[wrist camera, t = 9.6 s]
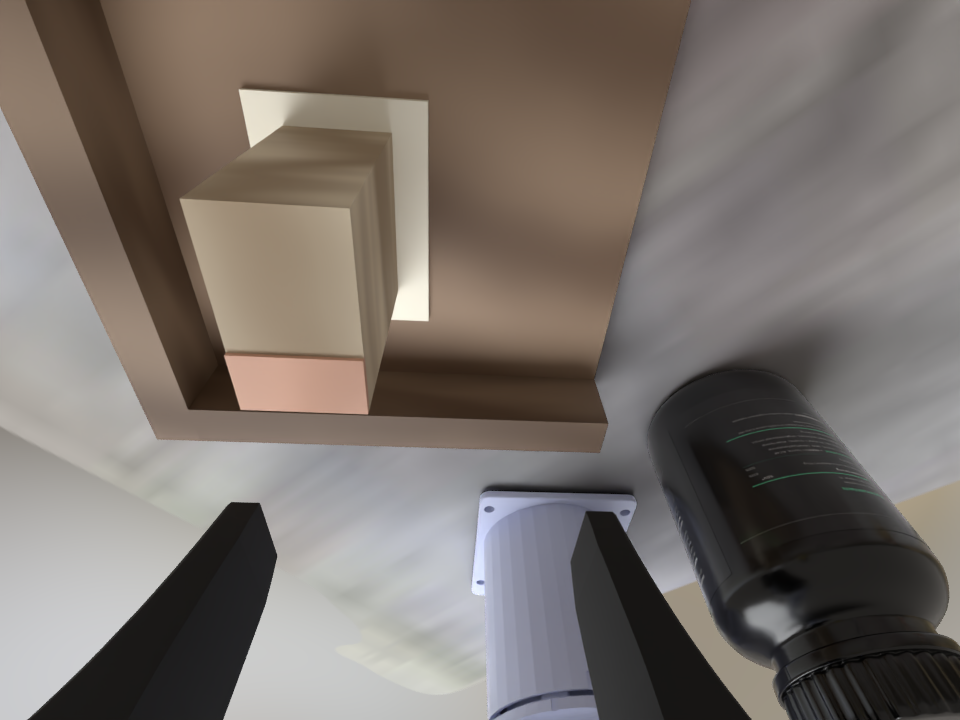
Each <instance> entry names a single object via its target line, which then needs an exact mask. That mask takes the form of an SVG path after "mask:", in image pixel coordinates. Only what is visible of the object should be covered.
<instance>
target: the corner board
mask: <svg viewBox="0 0 960 720" xmlns="http://www.w3.org/2000/svg"><path fill="white" fill-rule="evenodd" d="M690 3H691V0H0V107H1V110H2V112H3V114H4V116H5V118H6V120H7V122H8V124H9V126H10V129H11V131H12V133H13V135H14V137H15V139H16V141H17V143H18V146H19V148H20V150H21V152H22V154H23V156H24V158H25V160H26V162H27V165H28V167H29V169H30V171H31V173H32V175H33V177H34V179H35V182H36V184H37V186H38V188H39V190H40V192H41V194H42V196H43V198H44V201H45V203H46V205H47V207H48V209H49V211H50V213H51V215H52V218H53V220H54V222H55V224H56V226H57V228H58V230H59V232H60V234H61V237H62V239H63V241H64V243H65V245H66V247H67V249H68V251H69V254H70V256H71V258H72V260H73V262H74V264H75V266H76V268H77V270H78V273H79V275H80V277H81V279H82V281H83V283H84V285H85V287H86V290H87V292H88V294H89V296H90V298H91V300H92V302H93V304H94V306H95V309H96V311H97V313H98V315H99V317H100V319H101V321H102V323H103V326H104V328H105V330H106V332H107V334H108V336H109V338H110V340H111V342H112V345H113V347H114V349H115V351H116V353H117V355H118V357H119V359H120V362H121V364H122V366H123V368H124V370H125V372H126V374H127V376H128V378H129V381H130V383H131V385H132V387H133V389H134V391H135V393H136V395H137V398H138V400H139V402H140V404H141V406H142V408H143V410H144V412H145V414H146V417H147V419H148V421H149V423H150V425H151V427H152V429H153V431H154V434H155V436H156V438H157V439H160V440H194V441H227V442H260V443H293V444H326V445H359V446H392V447H425V448H458V449H491V450H524V451H557V452H590V453H600V450H601V447H602V443H603V440H604V437H605V433H606V430H607V427H608V421H607V418H606V415H605V412H604V408H603V405H602V402H601V399H600V396H599V393H598V390H597V387H596V383H595V380H594V378H595V374H596V370H597V366H598V362H599V358H600V354H601V350H602V347H603V343H604V339H605V335H606V331H607V327H608V323H609V319H610V315H611V311H612V307H613V304H614V300H615V296H616V292H617V288H618V284H619V280H620V276H621V272H622V268H623V265H624V261H625V257H626V253H627V249H628V245H629V241H630V237H631V233H632V229H633V225H634V222H635V218H636V214H637V210H638V206H639V202H640V198H641V194H642V190H643V186H644V182H645V179H646V175H647V171H648V167H649V163H650V159H651V155H652V151H653V147H654V143H655V139H656V136H657V132H658V128H659V124H660V120H661V116H662V112H663V108H664V104H665V100H666V96H667V93H668V89H669V85H670V81H671V77H672V73H673V69H674V65H675V61H676V57H677V53H678V50H679V46H680V42H681V38H682V34H683V30H684V26H685V22H686V18H687V14H688V10H689V7H690ZM281 126H298V127H313V128H328V129H343V130H358V131H373V132H388V133H392V146H393V172H394V197H395V223H396V248H397V274H398V294H397V298H396V302H395V306H394V310H393V314H392V318H391V323H390V327H389V331H388V335H387V339H386V343H385V347H384V351H383V356H382V360H381V364H380V368H379V372H378V376H377V380H376V384H375V389H374V393H373V397H372V401H371V405H370V409H369V413H368V414H342V413H315V412H287V411H260V410H241V409H240V406H239V403H238V400H237V396H236V393H235V390H234V386H233V383H232V380H231V377H230V373H229V370H228V367H227V364H226V360H225V357H224V355H225V353H226V352H225V348H224V345H223V342H222V338H221V335H220V332H219V328H218V325H217V322H216V318H215V315H214V312H213V308H212V305H211V302H210V298H209V295H208V292H207V289H206V285H205V282H204V279H203V275H202V272H201V269H200V265H199V262H198V259H197V255H196V252H195V249H194V245H193V242H192V239H191V235H190V232H189V229H188V226H187V222H186V219H185V216H184V212H183V209H182V206H181V202H180V198H181V197H182V196H184V195H185V194H187V193H188V192H189V191H191V190H192V189H194V188H195V187H196V186H198V185H199V184H201V183H202V182H204V181H205V180H206V179H208V178H209V177H211V176H212V175H213V174H215V173H216V172H218V171H219V170H220V169H222V168H223V167H225V166H226V165H228V164H229V163H230V162H232V161H233V160H235V159H236V158H237V157H239V156H240V155H242V154H243V153H244V152H246V151H247V150H249V149H250V148H251V147H253V146H254V145H256V144H257V143H259V142H260V141H261V140H263V139H264V138H266V137H267V136H268V135H270V134H271V133H273V132H274V131H275V130H277V129H278V128H280V127H281Z"/></svg>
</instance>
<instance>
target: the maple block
mask: <svg viewBox="0 0 960 720" xmlns="http://www.w3.org/2000/svg"><path fill="white" fill-rule="evenodd" d="M180 202H181V206H182V209H183V212H184V216H185V219H186V222H187V226H188V229H189V232H190V235H191V239H192V242H193V245H194V249H195V252H196V255H197V259H198V262H199V265H200V269H201V272H202V275H203V279H204V282H205V285H206V289H207V292H208V295H209V298H210V302H211V305H212V308H213V312H214V315H215V318H216V322H217V325H218V328H219V332H220V335H221V338H222V342H223V345H224V348H225V352H226V353H225V355H224V357H225V360H226V364H227V367H228V370H229V373H230V377H231V380H232V383H233V386H234V390H235V393H236V396H237V400H238V403H239V406H240V409H241V410H260V411H287V412H315V413H342V414H368V413H369V409H370V405H371V401H372V397H373V393H374V389H375V384H376V380H377V376H378V372H379V368H380V364H381V360H382V356H383V351H384V347H385V343H386V339H387V335H388V331H389V327H390V323H391V318H392V314H393V310H394V306H395V302H396V298H397V294H398V274H397V248H396V223H395V197H394V172H393V146H392V133H388V132H373V131H358V130H343V129H328V128H313V127H298V126H281V127H280V128H278V129H277V130H275V131H274V132H273V133H271V134H270V135H268V136H267V137H266V138H264V139H263V140H261V141H260V142H259V143H257V144H256V145H254V146H253V147H251V148H250V149H249V150H247V151H246V152H244V153H243V154H242V155H240V156H239V157H237V158H236V159H235V160H233V161H232V162H230V163H229V164H228V165H226V166H225V167H223V168H222V169H220V170H219V171H218V172H216V173H215V174H213V175H212V176H211V177H209V178H208V179H206V180H205V181H204V182H202V183H201V184H199V185H198V186H196V187H195V188H194V189H192V190H191V191H189V192H188V193H187V194H185V195H184V196H182V197H181V198H180Z"/></svg>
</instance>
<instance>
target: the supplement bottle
mask: <svg viewBox="0 0 960 720" xmlns="http://www.w3.org/2000/svg"><path fill="white" fill-rule="evenodd" d="M647 446H648V451H649V455H650V458H651V461H652V464H653V466H654V469H655V472H656V475H657V477H658V480H659V482H660V485H661V488H662V490H663V493H664V495H665V498H666V501H667V503H668V506H669V508H670V511H671V514H672V516H673V519H674V521H675V524H676V527H677V529H678V532H679V534H680V537H681V540H682V542H683V545H684V547H685V550H686V552H687V555H688V558H689V560H690V563H691V565H692V568H693V571H694V573H695V576H696V578H697V581H698V584H699V586H700V588H701V591H702V594H703V597H704V599H705V602H706V604H707V607H708V609H709V612H710V614H711V617H712V618H713V621H714V623H715V626H716V628H717V630H718V632H719V633H720V635H721V636H722V637H723V639H724V640H725V641H726V642H727V643H728V644H729V645H730V646H731V647H732V648H733V649H734V650H736V651H737V652H738V653H739V654H740V655H742V656H743V657H745V658H746V659H748V660H750V661H752V662H754V663H756V664H758V665H761V666H763V667H766V668H769V669H772V670H775V671H776V673H777V674H776V675H775V677H774V679H773V682H772V686H773V689H774V692H775V694H776V697H777V699H778V702H779V704H780V705H781V707H782V708H783V709H785V710H786V712H787V715H788V717H789V719H790V720H960V646H959V645H958V644H957V642H955V641H954V640H953V639H951V638H949V637H947V636H944V635H940V634H938V633H937V632H936V628H937V627H938V625H939V624H940V622H941V621H942V619H943V617H944V615H945V613H946V610H947V607H948V603H949V585H948V580H947V576H946V573H945V571H944V568H943V566H942V565H941V563H940V562H939V561H938V559H937V558H936V556H935V555H934V554H933V552H932V551H931V550H930V548H929V547H928V546H927V544H926V543H925V542H924V541H923V539H922V538H921V537H920V536H919V535H918V534H917V532H916V531H915V530H914V529H913V527H912V526H911V525H910V524H909V522H908V521H907V520H906V519H905V518H904V516H903V515H902V514H901V513H900V512H899V510H898V509H897V508H896V507H895V505H894V504H893V503H892V502H891V501H890V499H889V498H888V497H887V496H886V495H885V493H884V492H883V491H882V490H881V489H880V487H879V486H878V485H877V484H876V482H875V481H874V480H873V479H872V478H871V476H870V475H869V474H868V473H867V472H866V470H865V469H864V468H863V467H862V466H861V464H860V463H859V462H858V461H857V459H856V458H855V457H854V456H853V455H852V453H851V452H850V451H849V450H848V449H847V447H846V446H845V445H844V444H843V443H842V441H841V440H840V439H839V438H838V436H837V435H836V434H835V433H834V432H833V430H832V429H831V428H830V427H829V426H828V424H827V423H826V422H825V421H824V420H823V418H822V417H821V416H820V415H819V413H818V412H817V411H816V410H815V409H814V407H813V406H812V405H811V404H810V403H809V402H808V401H807V399H806V398H805V397H804V396H803V395H802V394H801V392H800V391H799V390H798V389H797V388H796V387H795V386H794V385H792V384H791V383H790V382H788V381H787V380H785V379H783V378H781V377H779V376H777V375H775V374H771V373H768V372H764V371H758V370H731V371H724V372H719V373H716V374H712V375H709V376H706V377H703V378H701V379H698V380H696V381H694V382H692V383H690V384H688V385H687V386H685V387H683V388H682V389H680V390H679V391H677V392H676V393H675V394H673V395H672V396H671V397H670V398H669V399H668V400H667V401H666V402H665V403H664V404H663V405H662V406H661V407H660V409H659V410H658V411H657V413H656V415H655V416H654V418H653V420H652V422H651V425H650V428H649V431H648V437H647Z"/></svg>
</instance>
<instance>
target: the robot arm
mask: <svg viewBox="0 0 960 720" xmlns="http://www.w3.org/2000/svg"><path fill="white" fill-rule="evenodd" d="M636 507H637V502H636V499H635V498H634V496H632V495H624V494H585V493H547V492H509V491H487V492H484V493H482V494H481V496H480V501H479V512H478V522H477V533H476V544H475V554H474V565H473V575H472V592H473V593H474V594H476V595H485V627H486V669H487V712H488V720H751V718H750V717H749V716H748V715H747V713H746V712H745V711H744V710H743V708H742V707H741V706H740V704H739V703H738V702H737V701H736V699H735V698H734V697H733V695H732V694H731V693H730V692H729V690H728V689H727V688H726V686H725V685H724V684H723V682H722V681H721V680H720V678H719V677H718V676H717V674H716V673H715V672H714V670H713V669H712V667H711V666H710V665H709V664H708V662H707V661H706V659H705V658H704V656H703V655H702V654H701V652H700V651H699V649H698V648H697V647H696V645H695V644H694V642H693V641H692V639H691V638H690V636H689V635H688V633H687V632H686V630H685V629H684V627H683V626H682V625H681V623H680V622H679V620H678V619H677V617H676V616H675V614H674V613H673V611H672V609H671V608H670V606H669V605H668V603H667V601H666V600H665V598H664V597H663V595H662V594H661V592H660V590H659V589H658V587H657V586H656V584H655V582H654V581H653V579H652V578H651V576H650V574H649V573H648V571H647V569H646V567H645V566H644V564H643V562H642V561H641V559H640V557H639V556H638V554H637V552H636V550H635V549H634V547H633V545H632V543H631V542H630V540H629V538H628V536H627V534H626V531H627V529H628V527H629V524H630V522H631V519H632V517H633V514H634V512H635V509H636ZM276 560H277V553H276V550H275V547H274V544H273V541H272V538H271V535H270V532H269V529H268V526H267V523H266V520H265V517H264V514H263V511H262V508H261V505H260V503H241V502H231V503H230V504H229V505H227V507H226V508H225V509H224V510H223V511H222V513H221V514H220V515H219V516H218V518H217V519H216V520H215V521H214V522H213V524H212V525H211V526H210V527H209V529H208V530H207V531H206V532H205V533H204V535H203V536H202V537H201V538H200V540H199V541H198V542H197V543H196V544H195V546H194V547H193V548H192V549H191V550H190V551H189V553H188V554H187V555H186V556H185V557H184V559H183V560H182V561H181V562H180V563H179V564H178V566H177V567H176V568H175V569H174V570H173V571H172V573H171V574H170V575H169V576H168V577H167V578H166V579H165V580H164V582H163V583H162V584H161V585H160V586H159V587H158V588H157V589H156V591H155V592H154V593H153V594H152V595H151V596H150V597H149V599H148V600H147V601H146V602H145V603H144V604H143V605H142V606H141V607H140V609H139V610H138V611H137V612H136V613H135V614H134V615H133V616H132V617H131V618H130V619H129V620H128V621H127V622H126V623H125V625H123V626H122V628H121V629H120V630H119V631H118V632H117V633H116V634H115V635H114V636H113V637H112V638H111V639H110V640H109V641H108V642H107V643H106V644H105V646H104V647H103V648H102V649H101V650H100V651H99V652H98V653H97V654H96V655H95V656H94V657H93V658H92V659H91V660H90V661H89V662H88V663H87V664H86V665H85V666H84V667H83V668H82V669H81V670H80V671H79V672H78V673H77V674H76V675H75V676H74V677H73V678H72V679H70V680H69V681H68V682H67V683H66V684H65V685H64V686H63V687H62V688H61V689H60V690H59V691H58V692H57V693H56V694H55V695H54V696H53V697H52V698H51V699H49V701H47V702H46V703H45V704H44V705H43V706H42V707H41V708H40V709H39V710H38V711H37V712H36V713H34V714H33V715H32V716H31V717H30V718H29V719H28V720H223V719H224V716H225V713H226V710H227V707H228V705H229V702H230V699H231V697H232V694H233V691H234V689H235V686H236V683H237V681H238V678H239V675H240V672H241V670H242V667H243V664H244V662H245V659H246V656H247V654H248V650H249V648H250V645H251V643H252V640H253V637H254V635H255V632H256V629H257V626H258V624H259V621H260V618H261V615H262V612H263V610H264V607H265V604H266V600H267V596H268V592H269V589H270V585H271V581H272V577H273V572H274V568H275V564H276Z"/></svg>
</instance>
